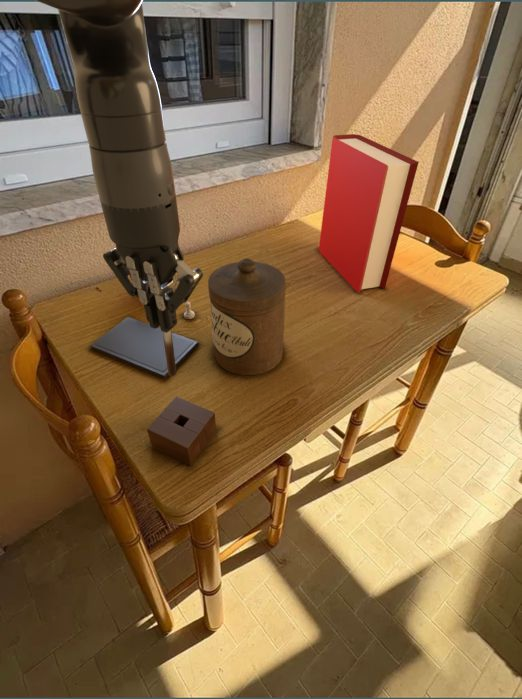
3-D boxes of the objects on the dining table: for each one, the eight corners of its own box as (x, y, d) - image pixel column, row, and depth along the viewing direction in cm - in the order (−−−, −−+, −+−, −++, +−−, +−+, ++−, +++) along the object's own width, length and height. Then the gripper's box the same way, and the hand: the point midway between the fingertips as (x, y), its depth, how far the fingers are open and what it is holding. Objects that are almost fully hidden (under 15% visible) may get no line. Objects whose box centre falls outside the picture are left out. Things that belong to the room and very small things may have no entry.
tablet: (164, 379, 76) (164, 375, 76) (90, 348, 83) (89, 345, 82) (198, 344, 84) (198, 341, 84) (128, 319, 91) (127, 316, 90)
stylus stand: (190, 466, 62) (187, 448, 58) (151, 447, 64) (146, 428, 61) (216, 430, 67) (214, 412, 64) (179, 414, 69) (176, 396, 66)
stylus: (173, 379, 55) (162, 294, 47) (166, 376, 56) (154, 292, 47) (178, 374, 56) (168, 290, 48) (171, 371, 57) (161, 288, 48)
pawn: (187, 320, 91) (185, 306, 88) (182, 315, 93) (180, 301, 90) (196, 316, 92) (195, 303, 90) (191, 311, 94) (190, 298, 91)
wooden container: (201, 346, 84) (191, 255, 69) (256, 323, 91) (257, 235, 76) (238, 386, 75) (235, 291, 60) (296, 357, 82) (305, 266, 67)
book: (384, 289, 103) (418, 161, 82) (358, 293, 101) (386, 164, 80) (339, 245, 123) (357, 133, 102) (316, 248, 121) (330, 135, 100)
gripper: (60, 191, 38) (103, 327, 50) (168, 217, 34) (189, 360, 45) (113, 172, 43) (142, 299, 55) (213, 192, 39) (222, 326, 50)
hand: (163, 326), depth 50 cm, fingers closed on stylus, 1 cm apart
